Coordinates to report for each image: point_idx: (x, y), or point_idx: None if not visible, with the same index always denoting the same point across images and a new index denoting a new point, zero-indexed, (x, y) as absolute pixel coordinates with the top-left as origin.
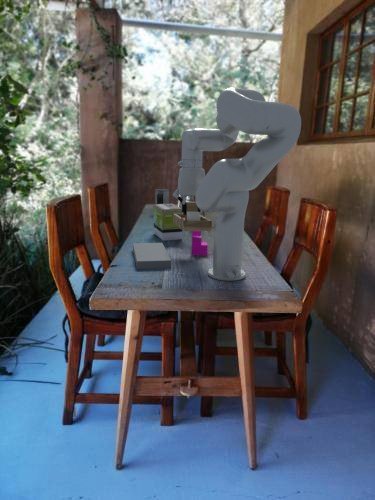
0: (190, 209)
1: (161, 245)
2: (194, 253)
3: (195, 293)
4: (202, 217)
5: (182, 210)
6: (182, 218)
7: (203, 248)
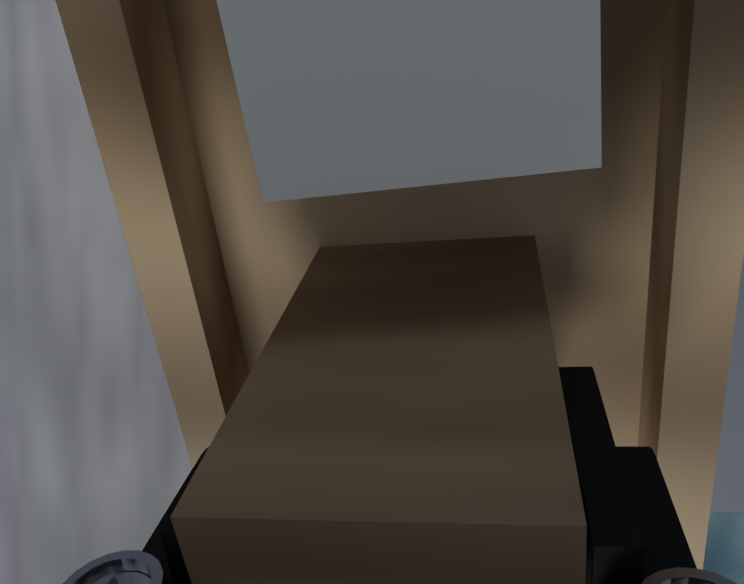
0: (452, 373)
1: (735, 416)
2: None
3: None
4: (197, 305)
5: (658, 467)
6: (687, 127)
7: None
